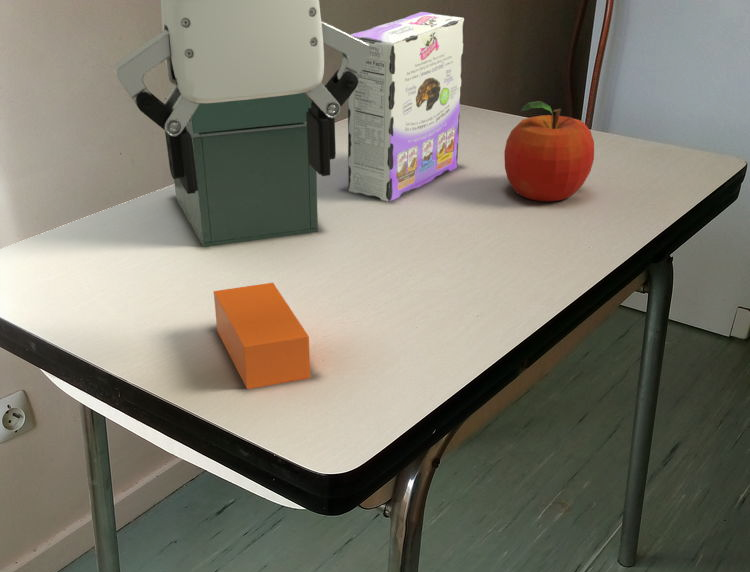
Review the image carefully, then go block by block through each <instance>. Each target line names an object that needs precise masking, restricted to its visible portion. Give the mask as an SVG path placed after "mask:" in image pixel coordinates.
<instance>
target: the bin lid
mask: <svg viewBox="0 0 750 572" xmlns="http://www.w3.org/2000/svg"><path fill="white" fill-rule="evenodd" d="M311 103H312V102H311V100H310V99H309V98H308V97H307V96H306V95H305V94H304V93H299V94H292V95H284V96H275V97H266V98H257V99H248V100H238V101H228V102H218V103H200V104H199V106H198V107H197V109H196V110H195V112H194V114H193V115H192V117H191V118H190V122H191V130H192V132H193V133H203V132H213V131H223V130H233V129H243V128H253V127H263V126H273V125H283V124H293V123H303V122H307V121H306V112H308V108H311Z"/></svg>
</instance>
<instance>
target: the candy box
mask: <svg viewBox="0 0 750 572" xmlns="http://www.w3.org/2000/svg"><path fill="white" fill-rule="evenodd" d="M464 32H465V18H464V17H460V16H453V15H448V14H438V13H433V12H426V11H419V12H417V13H414V14H411V15H408V16H405V17H402V18H400V19H396V20H393V21H390V22H387V23H383V24H380V25H377V26H374V27H371V28H367V29H364V30H362V31H357V32H354V33H351V34H350V35H352V36H354V37H356V38H358V39H360V40H362V41H363V42H365V43H366V44H368V45H369V47H370V54H369V57H368V59H367V61H366V64H365V66H364V68H363V71H362V73H361V74H360V76H359V78H358V85H357V87H356V89H355V90H354V91H353V92H352V94H351V95H350V96H349V97H348V99H347V133H348V134H347V166H348V167H347V169H348V171H347V174H348V175H347V176H348V181H347V182H348V183H347V184H348V189H347V190H348V192H350V193H353V194H358V195H361V196H365V197H369V198H372V199H375V200H376V199H377V200H380V201H383V202H391V201H392V202H393V201H394V200H396V199H399V198H400V197H402V196H404V195H406V194H408V193H411V192H413V191H415V190H417V189H418V188H421V187H422V186H424V185H426V184H428V183H430V182H432V181H433V180H435V179H438V178H440V177H441V176H443V175H446V174H448V173H449V172H452V171H454V170H456V169H458V160H459V159H458V158H459V157H458V155H459V138H460V137H459V133H460V112H461V95H462V75H463V57H464V34H465V33H464Z"/></svg>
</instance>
